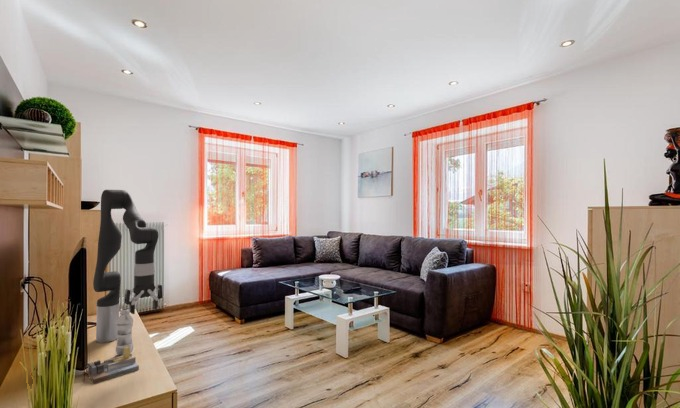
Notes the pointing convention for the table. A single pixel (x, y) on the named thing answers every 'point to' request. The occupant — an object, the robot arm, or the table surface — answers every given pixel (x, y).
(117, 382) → the table surface
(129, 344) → the silver threaded hollow container
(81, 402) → the table surface
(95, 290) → the robot arm
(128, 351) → the bolt
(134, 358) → the lock board
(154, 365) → the table surface
